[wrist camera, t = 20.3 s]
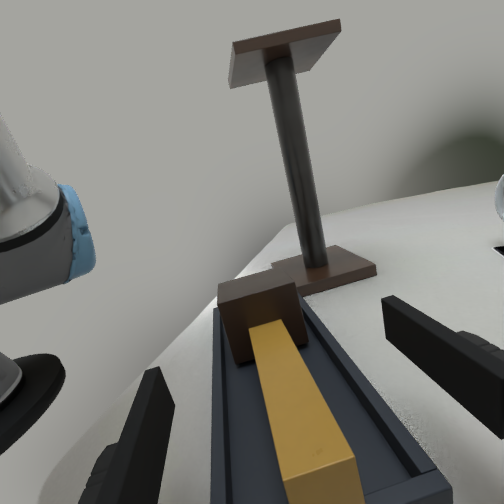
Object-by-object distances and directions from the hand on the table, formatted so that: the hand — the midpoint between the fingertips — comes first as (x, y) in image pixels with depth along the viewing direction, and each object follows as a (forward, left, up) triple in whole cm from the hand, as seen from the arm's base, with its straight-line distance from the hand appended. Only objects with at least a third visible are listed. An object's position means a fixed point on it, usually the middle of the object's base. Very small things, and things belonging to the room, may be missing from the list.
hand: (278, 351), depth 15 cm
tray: (-5, +4, -7) cm, 9 cm away
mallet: (-3, +3, -5) cm, 7 cm away
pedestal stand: (-11, +24, -7) cm, 27 cm away
